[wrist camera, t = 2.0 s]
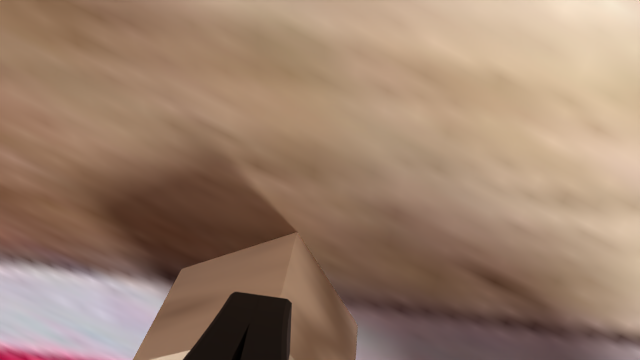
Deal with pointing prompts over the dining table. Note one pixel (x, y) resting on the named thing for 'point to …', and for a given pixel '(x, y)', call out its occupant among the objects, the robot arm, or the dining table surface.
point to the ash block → (262, 279)
